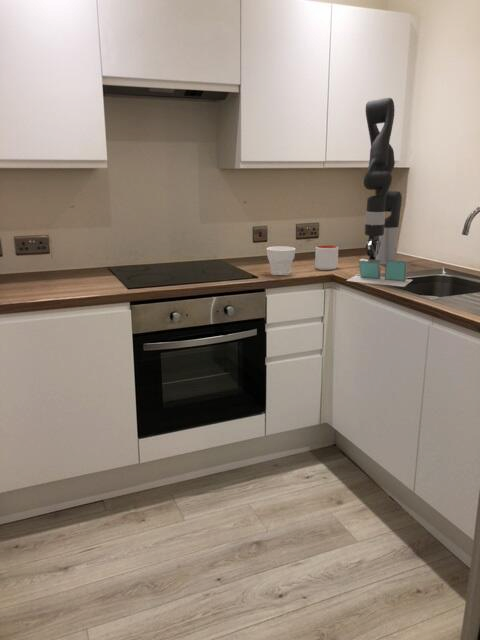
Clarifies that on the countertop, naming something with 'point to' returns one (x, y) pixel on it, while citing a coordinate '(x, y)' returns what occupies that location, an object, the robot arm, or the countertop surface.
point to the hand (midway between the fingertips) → (372, 265)
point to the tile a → (370, 268)
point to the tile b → (396, 270)
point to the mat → (379, 281)
